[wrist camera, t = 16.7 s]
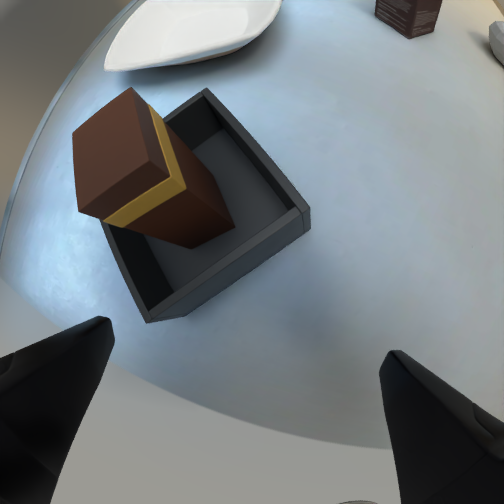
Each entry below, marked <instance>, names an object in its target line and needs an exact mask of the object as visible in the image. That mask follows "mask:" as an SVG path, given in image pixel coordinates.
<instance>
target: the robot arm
mask: <svg viewBox="0 0 504 504" xmlns="http://www.w3.org/2000/svg"><path fill="white" fill-rule="evenodd" d="M114 343H115V337H114V332H113V327H112V323H111V320H110V319H109V318H107V317H103V316H97V317H94V318H92V319H90V320H87V321H85V322H83V323H80V324H78V325H76V326H73V327H71V328H69V329H66V330H64V331H62V332H60V333H57V334H55V335H53V336H50V337H48V338H46V339H43V340H41V341H39V342H36V343H34V344H32V345H29V346H27V347H25V348H23V349H20V350H18V351H16V352H15V353H11V354H9V355H6V356H4V357H2V358H0V504H50V502H51V499H52V496H53V493H54V490H55V487H56V484H57V481H58V478H59V476H60V473H61V470H62V468H63V465H64V462H65V460H66V457H67V455H68V452H69V450H70V447H71V445H72V442H73V440H74V438H75V435H76V433H77V431H78V428H79V426H80V424H81V421H82V419H83V417H84V415H85V413H86V410H87V408H88V406H89V404H90V402H91V400H92V398H93V395H94V393H95V391H96V389H97V387H98V385H99V383H100V381H101V378H102V376H103V373H104V370H105V367H106V365H107V362H108V359H109V357H110V354H111V351H112V349H113V346H114ZM379 377H380V383H381V390H382V398H383V405H384V412H385V417H386V421H387V426H388V430H389V435H390V439H391V444H392V449H393V454H394V460H395V465H396V471H397V477H398V484H399V490H400V498H401V504H504V423H503V422H502V421H500V420H498V419H497V418H495V417H494V416H492V415H491V414H489V413H488V412H486V411H485V410H483V409H482V408H480V407H479V406H478V405H476V404H475V403H472V401H471V400H469V399H468V398H467V397H465V396H464V395H463V394H461V393H460V392H458V391H457V390H456V389H454V388H453V387H451V386H450V385H449V384H447V383H446V382H445V381H443V380H442V379H440V378H439V377H438V376H436V375H435V374H433V373H432V372H431V371H429V370H428V369H427V368H425V367H424V366H422V365H421V364H420V363H418V362H417V361H415V360H414V359H413V358H411V357H410V356H408V355H407V354H406V353H404V352H403V351H401V350H391V351H389V352H388V353H387V355H386V357H385V359H384V361H383V363H382V365H381V367H380V370H379Z"/></svg>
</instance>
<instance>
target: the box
mask: <svg viewBox="0 0 504 504" xmlns="http://www.w3.org/2000/svg"><path fill="white" fill-rule="evenodd" d="M441 4H442V0H376V6H375V16H376V17H377V18H379V19H381V20H382V21H384V22H386V23H387V24H389V25H390V26H392V27H393V28H395V29H396V30H397V31H399V32H400V33H402V34H403V35H404V36H405V37H407V38H409V39H410V38H413V37H416V36H419V35H423V34H426V33H430V32H433V31H434V28H435V24H436V21H437V18H438V14H439V11H440V8H441Z"/></svg>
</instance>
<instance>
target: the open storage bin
mask: <svg viewBox="0 0 504 504" xmlns="http://www.w3.org/2000/svg"><path fill="white" fill-rule="evenodd" d="M163 121H164V122H165V123H166V124H167V125H168V126H169V127H170V128H171V129H172V131H173V132H174V133H175V134H176V135H177V136H178V137H179V138H180V139H181V140H182V141H183V142H184V143H185V145H186V146H187V147H188V148H189V149H190V150H191V151H192V152H193V153H194V154H195V155H196V157H197V158H198V159H199V160H200V161H201V162H202V163H203V164H204V165H205V166H206V168H207V169H208V170H209V171H210V172H211V173H212V174H213V175H214V178H215V180H216V182H217V185H218V187H219V189H220V192H221V194H222V196H223V199H224V201H225V203H226V206H227V208H228V210H229V213H230V215H231V217H232V220H233V222H234V224H235V228H233V229H231V230H229V231H227V232H225V233H223V234H221V235H219V236H217V237H215V238H213V239H211V240H209V241H207V242H206V243H204V244H202V245H200V246H198V247H196V248H194V249H192V250H191V249H188V248H185V247H182V246H179V245H175V244H172V243H169V242H166V241H163V240H160V239H157V238H154V237H151V236H148V235H145V234H142V233H139V232H136V231H133V230H130V229H127V228H124V227H123V228H121V227H118V226H115V225H112V224H109V223H106V222H103V220H101V219H99V220H100V222H101V225H102V228H103V230H104V233H105V235H106V238H107V241H108V243H109V246H110V248H111V250H112V253H113V255H114V258H115V260H116V262H117V264H118V267H119V269H120V271H121V273H122V276H123V278H124V280H125V282H126V284H127V286H128V289H129V291H130V293H131V295H132V297H133V299H134V301H135V303H136V305H137V307H138V309H139V311H140V313H141V315H142V317H143V318H144V320H145V322H146V324H147V323H153V322H158V321H163V320H169V319H174V318H179V317H184V316H186V315H187V314H189V313H190V312H192V311H193V310H195V309H196V308H198V307H199V306H201V305H202V304H204V303H205V302H206V301H208V300H209V299H211V298H212V297H214V296H215V295H217V294H218V293H220V292H221V291H223V290H224V289H225V288H227V287H228V286H230V285H231V284H233V283H234V282H236V281H237V280H239V279H240V278H241V277H243V276H244V275H246V274H247V273H249V272H250V271H252V270H253V269H254V268H256V267H257V266H259V265H260V264H262V263H263V262H265V261H266V260H267V259H269V258H270V257H272V256H273V255H275V254H276V253H277V252H279V251H280V250H282V249H283V248H285V247H286V246H287V245H289V244H290V243H292V242H293V241H294V240H296V239H297V238H299V237H300V236H302V235H303V234H304V233H306V232H307V231H309V230H310V229H311V219H310V207H309V205H308V204H307V203H306V201H305V200H304V199H303V197H302V196H301V195H300V194H299V192H298V191H297V190H296V189H295V187H294V186H293V185H292V184H291V182H290V181H289V180H288V179H287V177H286V176H285V175H284V174H283V172H282V171H281V170H280V169H279V168H278V166H277V165H276V164H275V163H274V161H273V160H272V159H271V158H270V157H269V156H268V154H267V153H266V152H265V151H264V150H263V148H262V147H261V146H260V145H259V144H258V143H257V141H256V140H255V139H254V138H253V137H252V136H251V135H250V133H249V132H248V131H247V130H246V129H245V128H244V127H243V126H242V125H241V123H240V122H239V121H238V120H237V119H236V118H235V117H234V116H233V115H232V114H231V112H230V111H229V110H228V109H227V108H226V107H225V106H224V105H223V104H222V103H221V102H220V101H219V100H218V99H217V97H216V96H215V95H214V94H213V93H212V92H211V91H210V90H209V89H208V88H205V89H203V90H202V91H201V92H199V93H197V94H196V95H195V96H193V97H192V98H190V99H189V100H187V101H186V102H185V103H183V104H182V105H180V106H179V107H178V108H176V109H175V110H174V111H172V112H171V113H170V114H168V115H167V116H166V117H164V118H163Z"/></svg>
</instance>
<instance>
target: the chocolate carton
mask: <svg viewBox="0 0 504 504" xmlns="http://www.w3.org/2000/svg"><path fill="white" fill-rule="evenodd" d="M72 140H73V164H74V177H75V188H76V197H77V205H78V211H79V212H80V213H83V214H86V215H89V216H92V217H95V218H98V219H101V220H103V222H106V223H109V224H112V225H115V226H118V227H121V228H123V227H124V228H127V229H130V230H133V231H136V232H139V233H142V234H145V235H148V236H151V237H154V238H157V239H160V240H163V241H166V242H169V243H172V244H175V245H179V246H182V247H185V248H188V249H191V250H192V249H194V248H196V247H198V246H200V245H202V244H204V243H206V242H207V241H209V240H211V239H213V238H215V237H217V236H219V235H221V234H223V233H225V232H227V231H229V230H231V229H233V228H235V224H234V222H233V220H232V217H231V215H230V213H229V210H228V208H227V206H226V203H225V201H224V199H223V196H222V194H221V192H220V189H219V187H218V185H217V182H216V180H215V178H214V175H213V174H212V173H211V172H210V171H209V170H208V169H207V168H206V166H205V165H204V164H203V163H202V162H201V161H200V160H199V159H198V158H197V157H196V155H195V154H194V153H193V152H192V151H191V150H190V149H189V148H188V147H187V146H186V145H185V143H184V142H183V141H182V140H181V139H180V138H179V137H178V136H177V135H176V134H175V133H174V132H173V131H172V129H171V128H170V127H169V126H168V125H167V124H166V123H165V122H164V121H163V119H162V117H161V116H160V115H159V114H158V113H157V112H156V111H155V110H154V109H153V108H152V107H151V106H150V105H149V104H147V103H146V102H145V101H144V100H143V99H142V98H141V97H140V95H139V94H138V93H137V92H136V91H135V90H134V89H133V88H132V87H130V88H128V89H127V90H126V91H124V92H123V93H121V94H120V95H119V96H117V97H116V98H114V99H113V100H112V101H110V102H109V103H108V104H106V105H105V106H104V107H103V108H101V109H100V110H99V111H98V112H96V113H95V114H94V115H93V116H91V117H90V118H89V119H88V120H87V121H85V122H84V123H83V124H82V125H81V126H80V127H79V128H77V129H76V130H75V131H74V132H73V133H72Z"/></svg>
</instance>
